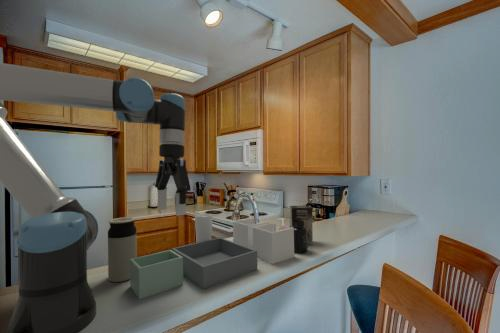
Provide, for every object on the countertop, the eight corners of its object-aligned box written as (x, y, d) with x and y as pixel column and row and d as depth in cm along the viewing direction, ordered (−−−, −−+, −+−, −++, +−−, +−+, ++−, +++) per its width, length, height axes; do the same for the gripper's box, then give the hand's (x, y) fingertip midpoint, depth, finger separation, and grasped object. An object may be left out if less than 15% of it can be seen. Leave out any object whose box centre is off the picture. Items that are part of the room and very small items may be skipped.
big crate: (203, 288, 68) (203, 267, 68) (172, 265, 85) (171, 248, 85) (257, 269, 81) (257, 250, 81) (220, 252, 98) (220, 237, 98)
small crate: (139, 299, 63) (139, 268, 63) (130, 287, 70) (129, 259, 70) (183, 284, 71) (182, 257, 71) (171, 274, 78) (170, 249, 78)
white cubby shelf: (233, 246, 105) (232, 221, 105) (253, 242, 112) (253, 217, 112) (272, 264, 85) (271, 232, 85) (294, 257, 92) (293, 227, 92)
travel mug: (141, 276, 77) (140, 219, 77) (113, 285, 71) (112, 223, 71) (131, 269, 82) (130, 215, 83) (105, 277, 77) (104, 219, 77)
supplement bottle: (303, 247, 102) (303, 218, 102) (310, 253, 95) (309, 222, 95) (287, 248, 101) (287, 219, 101) (293, 254, 94) (293, 223, 94)
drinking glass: (209, 256, 94) (208, 216, 94) (192, 255, 95) (192, 216, 95) (215, 250, 100) (214, 213, 101) (199, 249, 102) (199, 213, 102)
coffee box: (291, 245, 105) (290, 207, 105) (289, 240, 111) (289, 205, 112) (313, 245, 105) (312, 207, 105) (310, 240, 111) (309, 205, 111)
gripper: (203, 142, 70) (202, 216, 70) (167, 148, 89) (165, 206, 88) (179, 139, 65) (177, 219, 65) (145, 146, 84) (144, 208, 83)
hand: (170, 212), depth 77 cm, fingers open, 13 cm apart
